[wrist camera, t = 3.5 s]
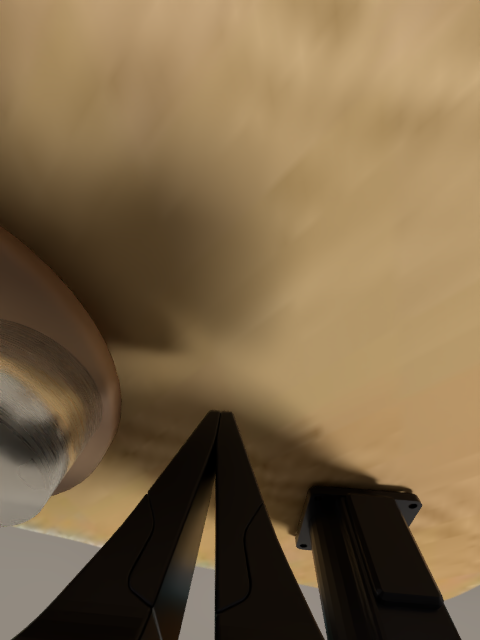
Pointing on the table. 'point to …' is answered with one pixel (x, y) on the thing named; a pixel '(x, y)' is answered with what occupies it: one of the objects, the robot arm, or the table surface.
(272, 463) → the table surface
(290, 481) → the table surface
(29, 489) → the lid
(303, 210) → the table surface
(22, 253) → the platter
